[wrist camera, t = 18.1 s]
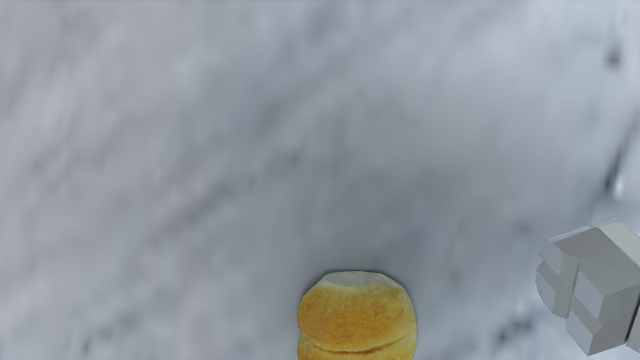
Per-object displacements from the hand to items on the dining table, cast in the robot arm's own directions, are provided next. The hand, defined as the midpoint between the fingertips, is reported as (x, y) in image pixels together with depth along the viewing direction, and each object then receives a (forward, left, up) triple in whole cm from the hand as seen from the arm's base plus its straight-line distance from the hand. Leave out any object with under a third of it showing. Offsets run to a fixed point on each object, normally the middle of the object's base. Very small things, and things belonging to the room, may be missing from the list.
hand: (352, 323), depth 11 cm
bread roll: (+6, -13, -27) cm, 30 cm away
